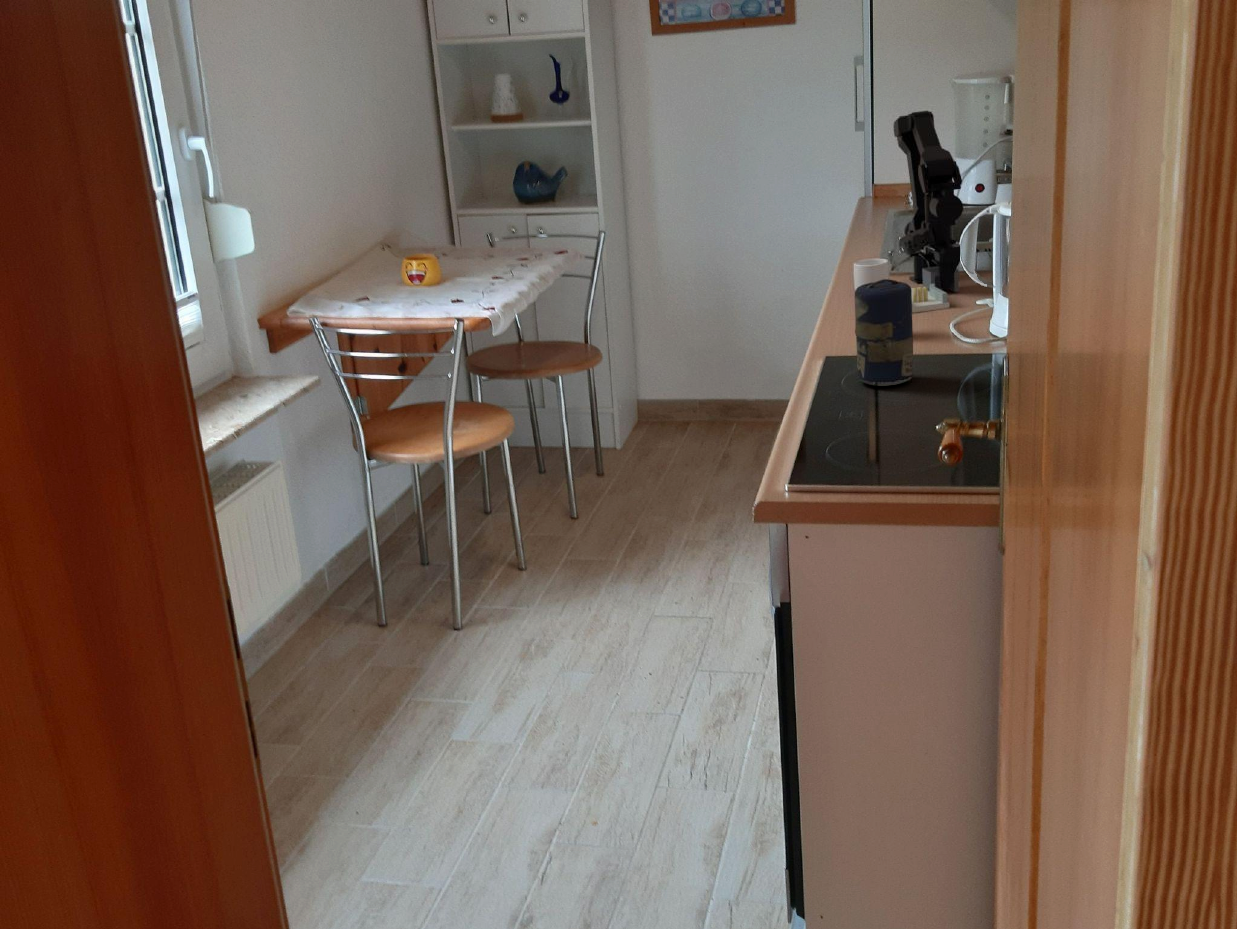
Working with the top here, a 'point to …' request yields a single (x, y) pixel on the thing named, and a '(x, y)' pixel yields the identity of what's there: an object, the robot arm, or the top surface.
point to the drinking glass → (870, 271)
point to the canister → (884, 331)
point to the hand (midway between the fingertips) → (940, 286)
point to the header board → (928, 299)
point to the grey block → (938, 279)
